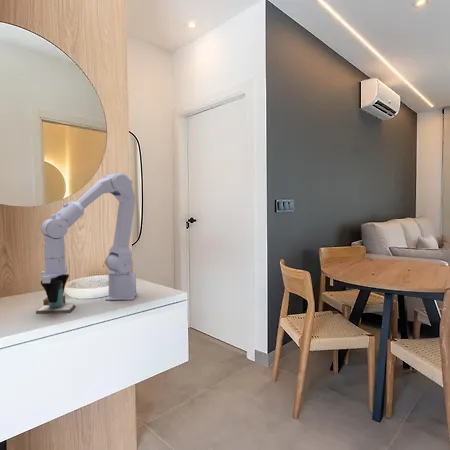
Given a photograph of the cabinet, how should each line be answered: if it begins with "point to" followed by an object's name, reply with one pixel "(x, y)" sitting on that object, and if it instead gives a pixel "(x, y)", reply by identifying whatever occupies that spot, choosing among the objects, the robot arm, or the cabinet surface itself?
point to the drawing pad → (55, 309)
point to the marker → (60, 297)
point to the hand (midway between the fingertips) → (56, 299)
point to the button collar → (46, 301)
